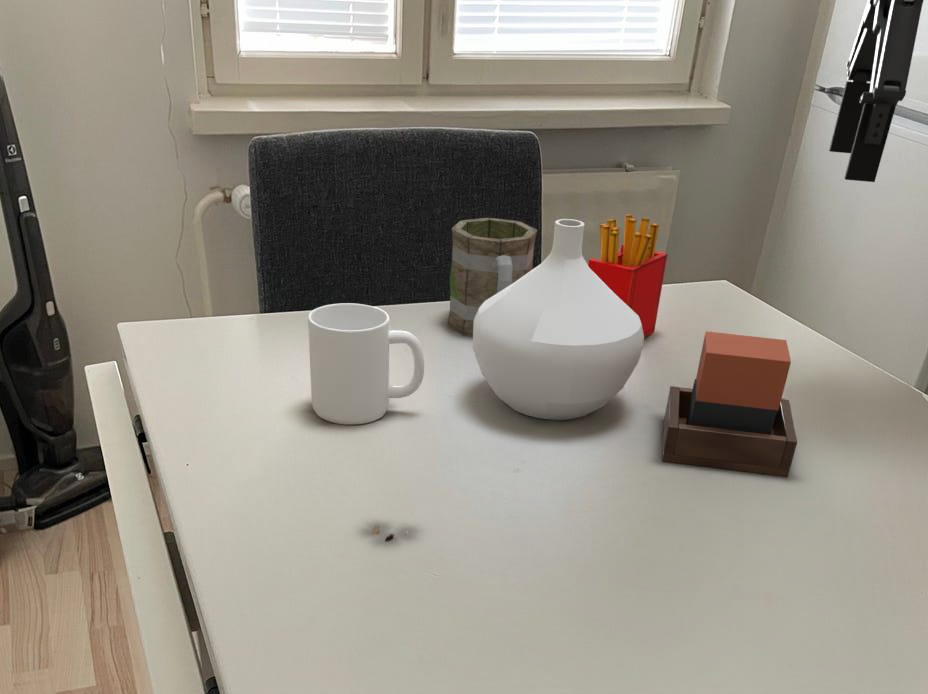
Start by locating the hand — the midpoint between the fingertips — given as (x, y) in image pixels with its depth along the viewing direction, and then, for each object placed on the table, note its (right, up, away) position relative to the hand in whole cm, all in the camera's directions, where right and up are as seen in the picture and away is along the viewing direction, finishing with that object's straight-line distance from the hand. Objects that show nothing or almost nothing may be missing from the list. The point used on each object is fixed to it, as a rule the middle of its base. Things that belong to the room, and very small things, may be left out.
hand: (850, 165), depth 100 cm
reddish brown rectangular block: (-12, -23, 0) cm, 26 cm away
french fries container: (-19, -9, +28) cm, 35 cm away
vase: (-29, -22, +11) cm, 38 cm away
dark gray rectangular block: (-12, -27, +3) cm, 30 cm away
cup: (-50, -23, +7) cm, 55 cm away
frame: (-12, -28, +3) cm, 30 cm away
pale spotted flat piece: (-46, -40, -14) cm, 63 cm away
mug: (-35, -8, +28) cm, 46 cm away
